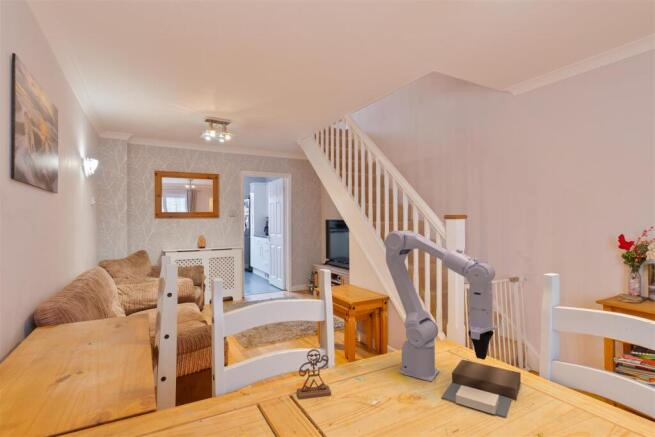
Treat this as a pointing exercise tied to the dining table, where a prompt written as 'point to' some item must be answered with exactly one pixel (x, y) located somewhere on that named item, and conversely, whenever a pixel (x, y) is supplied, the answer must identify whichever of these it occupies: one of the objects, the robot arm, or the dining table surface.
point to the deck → (487, 378)
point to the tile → (477, 399)
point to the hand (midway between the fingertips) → (481, 358)
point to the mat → (451, 396)
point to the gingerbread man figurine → (313, 391)
